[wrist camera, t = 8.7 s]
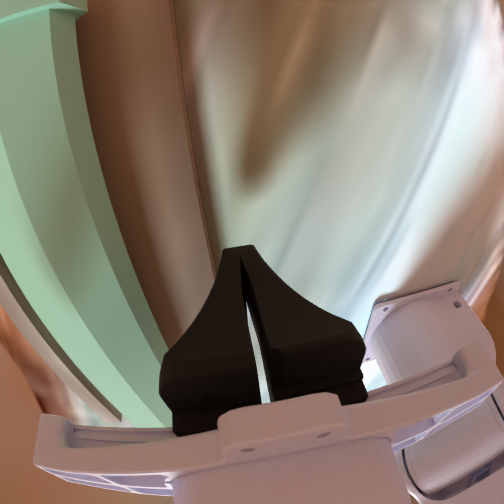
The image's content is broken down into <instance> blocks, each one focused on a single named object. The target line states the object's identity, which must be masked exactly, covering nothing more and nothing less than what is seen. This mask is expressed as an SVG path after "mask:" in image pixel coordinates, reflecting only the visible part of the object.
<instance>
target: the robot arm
mask: <svg viewBox="0 0 504 504" xmlns="http://www.w3.org/2000/svg"><path fill="white" fill-rule="evenodd" d="M460 286H461V284H460V283H459V282H458V281H456V282H453V283H449V284H446V285H443V286H440V287H436V288H433V289H430V290H426V291H423V292H419V293H416V294H412V295H408V296H405V297H401V298H397V299H393V300H390V301H386V302H382V303H378V304H376V305H375V306H374V308H373V311H372V314H371V317H370V321H369V324H368V328H367V331H366V334H365V337H364V340H363V339H362V337H361V335H360V334H359V332H358V331H357V329H356V328H355V326H354V325H353V324H352V322H350V321H347V320H345V319H342V318H340V317H338V316H335V315H333V314H331V313H329V312H327V311H325V310H323V309H321V308H319V307H318V306H316V305H314V304H313V303H311V302H309V301H308V300H306V299H305V298H303V297H302V296H301V295H299V294H298V293H297V292H295V291H294V290H293V289H292V288H290V287H289V286H288V285H287V284H286V283H285V282H284V281H283V280H282V279H281V278H280V277H279V276H278V275H277V274H276V273H275V272H274V271H273V270H272V269H271V268H270V267H269V266H268V264H267V263H266V262H265V261H264V260H263V258H262V257H261V256H260V254H259V253H258V251H257V250H256V248H255V246H253V245H245V246H239V247H232V248H226V249H224V250H223V251H222V258H221V263H220V266H219V270H218V273H217V276H216V279H215V281H214V284H213V286H212V288H211V291H210V293H209V295H208V297H207V299H206V301H205V303H204V305H203V307H202V308H201V310H200V312H199V313H198V315H197V316H196V318H195V319H194V321H193V322H192V324H191V325H190V326H189V328H188V329H187V330H186V331H185V333H184V334H183V335H182V336H181V338H180V339H179V340H178V341H177V342H176V343H175V344H174V345H173V346H172V347H171V348H170V349H169V350H168V351H167V352H166V353H165V354H164V357H163V360H162V364H161V369H160V374H159V395H160V397H161V399H162V400H163V401H164V403H165V404H166V405H167V406H168V408H169V409H170V410H171V412H172V427H160V428H118V427H96V426H83V425H74V424H73V423H72V422H71V421H70V420H69V419H67V418H65V417H63V416H59V415H50V414H41V415H40V420H39V426H38V431H37V437H36V444H35V450H34V457H33V464H34V465H35V466H37V467H39V468H41V469H43V470H45V471H47V472H49V473H51V474H53V475H55V476H57V477H60V478H62V479H64V480H66V481H69V482H74V483H78V484H83V485H89V486H94V487H100V488H106V489H111V490H117V491H125V492H131V493H140V494H150V495H162V496H173V499H174V500H173V501H174V504H412V503H411V500H410V497H409V494H408V493H410V494H411V495H412V496H414V498H415V499H416V500H417V501H418V502H419V504H504V378H503V376H502V375H501V373H500V372H499V370H498V368H497V367H496V365H495V362H496V351H495V346H494V342H493V340H492V337H491V335H490V334H489V332H488V331H487V329H486V328H485V326H484V325H483V324H482V322H481V321H480V320H479V318H478V317H477V315H476V314H475V313H474V311H473V310H472V309H471V307H470V306H469V305H468V304H467V302H466V301H465V300H464V298H463V297H462V296H461V295H460V293H459V292H458V291H459V288H460ZM246 302H247V305H248V308H249V312H250V315H251V318H252V322H253V325H254V328H255V332H256V335H257V338H258V342H259V346H260V350H261V355H262V360H263V366H264V371H265V376H266V381H267V386H268V391H269V397H270V402H271V403H265V404H262V402H261V395H260V388H259V381H258V373H257V367H256V361H255V356H254V351H253V346H252V342H251V337H250V332H249V327H248V319H247V305H246ZM374 359H376V361H377V363H378V365H379V367H380V370H381V372H382V374H383V376H384V378H385V380H386V383H387V385H386V386H383V387H381V388H378V389H375V390H372V391H368V392H367V391H366V388H365V386H364V384H363V381H362V379H363V374H362V371H361V369H360V367H361V364H362V363H364V362H367V361H371V360H374ZM394 453H395V455H394Z"/></svg>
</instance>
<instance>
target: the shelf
mask: <svg viewBox="0 0 504 504" xmlns="http://www.w3.org/2000/svg"><path fill="white" fill-rule="evenodd" d="M87 7H88V12H86V13H85V14H84V15H83V16H81V17H80V18H79V19H78V20H77V21H76V22H75V26H76V37H77V47H78V55H79V63H80V70H81V76H82V83H83V89H84V94H85V100H86V105H87V110H88V115H89V120H90V125H91V129H92V134H93V138H94V142H95V147H96V151H97V155H98V159H99V162H100V166H101V170H102V174H103V177H104V181H105V184H106V188H107V191H108V195H109V198H110V201H111V205H112V208H113V211H114V214H115V217H116V220H117V223H118V226H119V229H120V232H121V235H122V238H123V241H124V244H125V247H126V249H127V252H128V255H129V258H130V260H131V263H132V266H133V268H134V271H135V273H136V276H137V278H138V281H139V283H140V286H141V288H142V291H143V293H144V296H145V298H146V301H147V303H148V305H149V308H150V310H151V312H152V315H153V317H154V319H155V321H156V324H157V326H158V328H159V330H160V332H161V335H162V337H163V339H164V341H165V343H166V345H167V347H168V349H170V348H171V347H172V346H173V345H174V344H175V343H176V342H177V341H178V340H179V339H180V338H181V336H182V335H183V334H184V333H185V331H186V330H187V329H188V328H189V326H190V325H191V324H192V322H193V321H194V319H195V318H196V316H197V315H198V313H199V312H200V310H201V308H202V307H203V305H204V303H205V301H206V299H207V297H208V295H209V293H210V291H211V288H212V286H213V284H214V281H215V279H216V271H215V266H214V261H213V257H212V252H211V247H210V241H209V236H208V231H207V226H206V221H205V215H204V210H203V205H202V199H201V194H200V188H199V182H198V177H197V171H196V165H195V159H194V153H193V147H192V141H191V134H190V128H189V121H188V115H187V108H186V101H185V94H184V87H183V80H182V72H181V65H180V57H179V49H178V41H177V32H176V23H175V14H174V4H173V0H87ZM0 304H1V306H2V307H3V308H4V310H5V311H6V313H7V314H8V316H9V317H10V318H11V320H12V321H13V323H14V324H15V325H16V327H17V328H18V329H19V331H20V332H21V333H22V334H23V336H24V337H25V338H26V340H27V341H28V342H29V343H30V345H31V346H32V347H33V348H34V349H35V351H36V352H37V353H38V354H39V355H40V356H41V358H42V359H43V360H44V361H45V362H46V363H47V364H48V366H49V367H50V368H51V369H52V370H53V371H54V372H55V373H56V374H57V375H58V376H59V378H60V379H61V380H62V381H63V382H64V383H65V384H66V385H67V386H68V387H69V388H70V389H71V390H72V391H73V392H74V393H75V394H76V395H77V396H78V397H79V398H80V399H81V400H83V401H84V402H85V403H86V404H87V405H88V406H89V407H90V408H91V409H92V410H93V411H94V412H96V413H97V414H98V415H99V416H100V417H101V418H102V419H104V420H105V421H106V422H121V419H122V413H121V412H120V411H119V410H117V409H116V408H115V407H114V406H113V405H112V404H111V403H110V402H109V401H108V400H107V399H106V398H105V397H104V395H103V394H102V393H101V392H100V391H99V390H98V389H97V388H96V387H95V386H94V385H93V384H92V383H91V382H90V381H89V379H88V378H87V377H86V376H85V375H84V374H83V373H82V372H81V370H80V369H79V368H78V367H77V366H76V365H75V363H74V362H73V361H72V360H71V359H70V357H69V356H68V355H67V354H66V352H65V351H64V350H63V349H62V347H61V346H60V345H59V344H58V342H57V341H56V340H55V338H54V337H53V336H52V334H51V333H50V332H49V330H48V329H47V328H46V326H45V325H44V323H43V322H42V321H41V319H40V318H39V316H38V315H37V313H36V312H35V310H34V309H33V307H32V306H31V304H30V303H29V301H28V300H27V298H26V297H25V295H24V294H23V292H22V290H21V289H20V287H19V285H18V284H17V282H16V280H15V279H14V277H13V275H12V274H11V272H10V270H9V268H8V266H7V265H6V263H5V261H4V259H3V257H2V255H1V253H0Z"/></svg>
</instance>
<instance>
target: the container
mask: <svg viewBox="0 0 504 504" xmlns="http://www.w3.org/2000/svg"><path fill="white" fill-rule="evenodd" d="M86 12H88V7H87V0H0V253H1V255H2V257H3V259H4V261H5V263H6V265H7V266H8V268H9V270H10V272H11V274H12V275H13V277H14V279H15V280H16V282H17V284H18V285H19V287H20V289H21V290H22V292H23V294H24V295H25V297H26V298H27V300H28V301H29V303H30V304H31V306H32V307H33V309H34V310H35V312H36V313H37V315H38V316H39V318H40V319H41V321H42V322H43V323H44V325H45V326H46V328H47V329H48V330H49V332H50V333H51V334H52V336H53V337H54V338H55V340H56V341H57V342H58V344H59V345H60V346H61V347H62V349H63V350H64V351H65V352H66V354H67V355H68V356H69V357H70V359H71V360H72V361H73V362H74V363H75V365H76V366H77V367H78V368H79V369H80V370H81V372H82V373H83V374H84V375H85V376H86V377H87V378H88V379H89V381H90V382H91V383H92V384H93V385H94V386H95V387H96V388H97V389H98V390H99V391H100V392H101V393H102V394H103V395H104V397H105V398H106V399H107V400H108V401H109V402H110V403H111V404H112V405H113V406H114V407H115V408H116V409H117V410H119V411H120V412H121V413H122V414H123V415H124V416H125V417H126V418H127V419H128V420H129V421H130V422H131V423H132V424H133V425H135V426H136V427H137V428H160V427H172V412H171V410H170V409H169V408H168V406H167V405H166V404H165V403H164V401H163V400H162V399H161V397H160V395H159V374H160V369H161V364H162V360H163V357H164V354H165V353H166V352H167V351H168V350H169V349H168V347H167V345H166V343H165V341H164V339H163V337H162V335H161V332H160V330H159V328H158V326H157V324H156V321H155V319H154V317H153V315H152V312H151V310H150V308H149V305H148V303H147V301H146V298H145V296H144V293H143V291H142V288H141V286H140V283H139V281H138V278H137V276H136V273H135V271H134V268H133V266H132V263H131V260H130V258H129V255H128V252H127V249H126V247H125V244H124V241H123V238H122V235H121V232H120V229H119V226H118V223H117V220H116V217H115V214H114V211H113V208H112V205H111V201H110V198H109V195H108V191H107V188H106V184H105V181H104V177H103V174H102V170H101V166H100V162H99V159H98V155H97V151H96V147H95V142H94V138H93V134H92V129H91V125H90V120H89V115H88V110H87V105H86V100H85V94H84V89H83V83H82V76H81V70H80V63H79V55H78V47H77V37H76V26H75V22H76V21H77V20H78V19H79V18H80V17H81V16H83V15H84V14H85V13H86Z"/></svg>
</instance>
